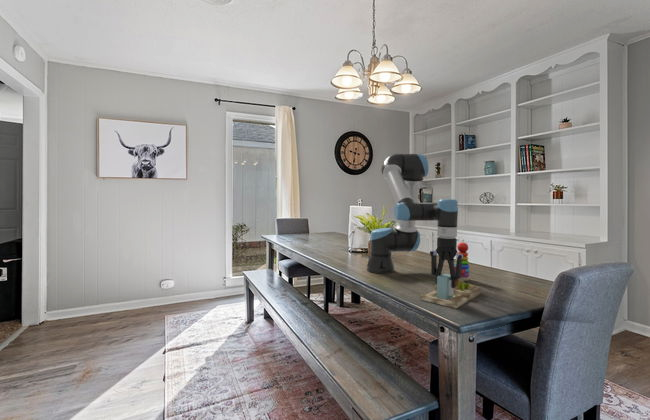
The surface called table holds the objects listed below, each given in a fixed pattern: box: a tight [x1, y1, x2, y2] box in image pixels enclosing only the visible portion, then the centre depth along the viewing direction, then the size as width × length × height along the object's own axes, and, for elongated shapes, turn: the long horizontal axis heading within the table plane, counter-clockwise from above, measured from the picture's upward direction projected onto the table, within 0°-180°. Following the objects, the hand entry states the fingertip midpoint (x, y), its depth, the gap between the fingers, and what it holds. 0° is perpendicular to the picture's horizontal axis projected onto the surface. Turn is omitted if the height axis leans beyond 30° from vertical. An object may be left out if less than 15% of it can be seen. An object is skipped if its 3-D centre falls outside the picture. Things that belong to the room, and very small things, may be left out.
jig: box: [419, 282, 482, 309], centre depth 145 cm, size 15×26×3 cm, turn 137°
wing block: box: [437, 273, 454, 300], centre depth 140 cm, size 4×7×9 cm, turn 137°
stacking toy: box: [454, 242, 471, 282], centre depth 173 cm, size 8×8×19 cm
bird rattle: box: [454, 266, 471, 291], centre depth 150 cm, size 6×11×9 cm
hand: (445, 293), depth 141 cm, fingers closed on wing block, 4 cm apart
